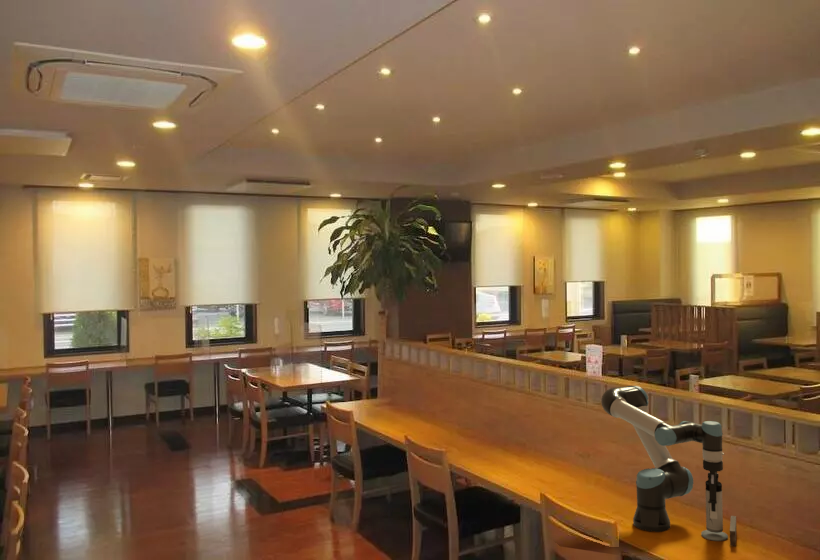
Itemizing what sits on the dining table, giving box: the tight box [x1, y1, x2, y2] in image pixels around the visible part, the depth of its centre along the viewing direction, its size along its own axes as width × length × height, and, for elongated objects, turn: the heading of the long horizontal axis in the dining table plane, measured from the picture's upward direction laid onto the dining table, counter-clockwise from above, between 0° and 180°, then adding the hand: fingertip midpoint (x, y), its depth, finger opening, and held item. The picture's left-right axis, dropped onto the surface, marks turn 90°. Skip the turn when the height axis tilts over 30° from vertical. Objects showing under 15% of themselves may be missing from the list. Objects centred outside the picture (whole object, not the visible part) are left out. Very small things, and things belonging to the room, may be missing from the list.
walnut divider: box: [729, 515, 737, 547], centre depth 283 cm, size 2×18×6 cm, turn 154°
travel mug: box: [705, 479, 724, 533], centre depth 285 cm, size 6×7×20 cm
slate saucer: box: [700, 529, 729, 542], centre depth 285 cm, size 10×10×1 cm
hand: (714, 515), depth 285 cm, fingers closed on travel mug, 6 cm apart
